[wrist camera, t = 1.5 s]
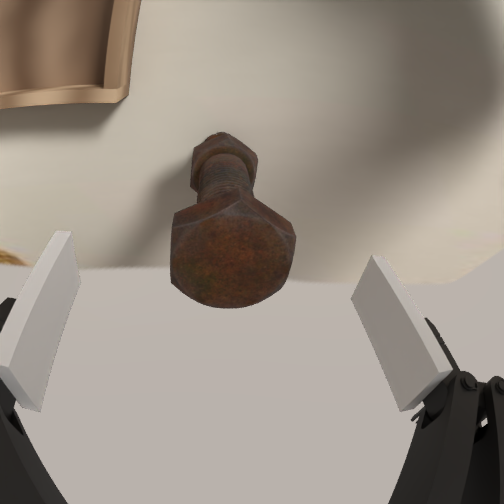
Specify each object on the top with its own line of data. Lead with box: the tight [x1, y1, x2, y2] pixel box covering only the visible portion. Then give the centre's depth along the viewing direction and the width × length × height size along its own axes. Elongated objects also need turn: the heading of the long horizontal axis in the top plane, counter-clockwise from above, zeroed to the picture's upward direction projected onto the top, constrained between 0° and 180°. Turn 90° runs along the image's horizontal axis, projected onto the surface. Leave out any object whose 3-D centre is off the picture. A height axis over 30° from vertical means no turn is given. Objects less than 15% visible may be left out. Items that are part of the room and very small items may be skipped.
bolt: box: [170, 132, 296, 308], centre depth 19 cm, size 6×5×15 cm
